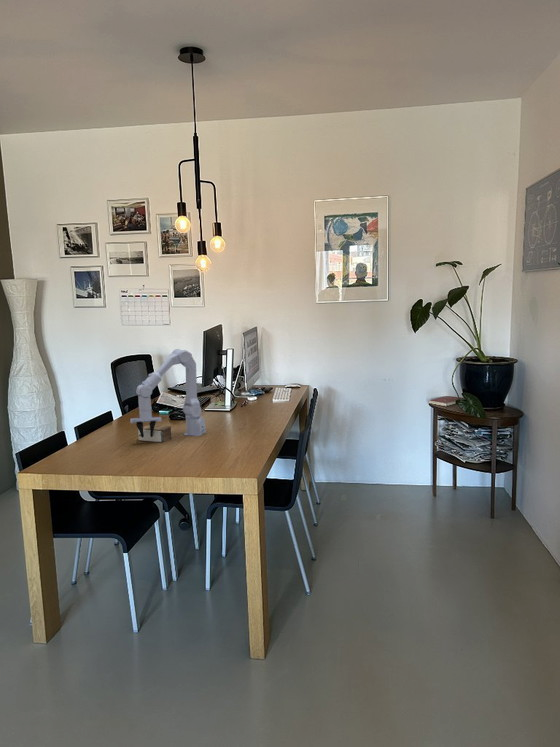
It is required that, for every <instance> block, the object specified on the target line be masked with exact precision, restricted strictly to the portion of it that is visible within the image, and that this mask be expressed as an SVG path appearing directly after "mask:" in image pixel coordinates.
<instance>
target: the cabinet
mask: <svg viewBox="0 0 560 747" xmlns="http://www.w3.org/2000/svg"><path fill="white" fill-rule="evenodd" d="M143 430H150V425H149V424H146V425H143ZM153 431H161V432H163V436H162V437H163V441H162V442H161V443H164V442H166V441H168V440H171V439H172V426H171V425H159V424H158V425H156V424H155V426H154V430H153Z"/></svg>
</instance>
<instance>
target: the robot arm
mask: <svg viewBox="0 0 560 747" xmlns="http://www.w3.org/2000/svg"><path fill="white" fill-rule="evenodd" d="M175 365H176V366H177V365H182V366H183V367H184V368H185V393H186V394H185V400H184V403H183V404H184V405H183V406H182V412H183V413H184V414H185V416H184V417H185V425H186V426H185V427H186V432H184V433H183V434H182V435H183V436H193V437H200V436H202V435H204V434H207V429H206V428H207V426H206V419H205V417H203V416H201V415H202V407H201V403H200V401H199V399H198V393H197V392H198V387H197V386H198V385H197V382H198V381H197V363H196V361H195V360H194V357H193V354H192V353H191V352H190V351H188V350H186V349H179V348H177V349H174V350H173V351H172V352H171V353H169V355H168V356H167V358H166V359H165V361H163V363H162V364H161V365H160V366H159V368H158V369H157V370H156V371H153V372H151V373H148V376H147V378H146V379H145V380H143V381H142V382H141V384H138V386H137V387H136V389H135V392H136V395H137V397H138V398H137V399H138V411H139V417H136V418H135V417H134V418H130V424H135V426H136V427H137V430H139V431H140V433H141V437H142V438H143V437H144V432H143V426H144V423H149V424H148V425H150V436H151V437H152V436H153V430H154V426H155V425H156V423H157V422H158V423H161V422H162V417H161V416H153V414H152V413H153V412H152V401H151V395H152V394H153V390H155V388H156V387H157V386H158V385H159V383H160V382H161V381H162V377H163V376H164V375H165V373H167V372H168V371H169V370H170V368H172V367H173V366H175Z"/></svg>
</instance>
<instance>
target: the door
mask: <svg viewBox="0 0 560 747" xmlns="http://www.w3.org/2000/svg"><path fill="white" fill-rule="evenodd" d="M137 432H138V433H137V435H138V441H144V442H157V443H158V442H159V443H163V442H162V441H163V437H162V436H163V432H161V431H153V436H152V437H151V436H150V430H143V432H144V437H143V438H142V437H141V433H140V431H139V429H137Z"/></svg>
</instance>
